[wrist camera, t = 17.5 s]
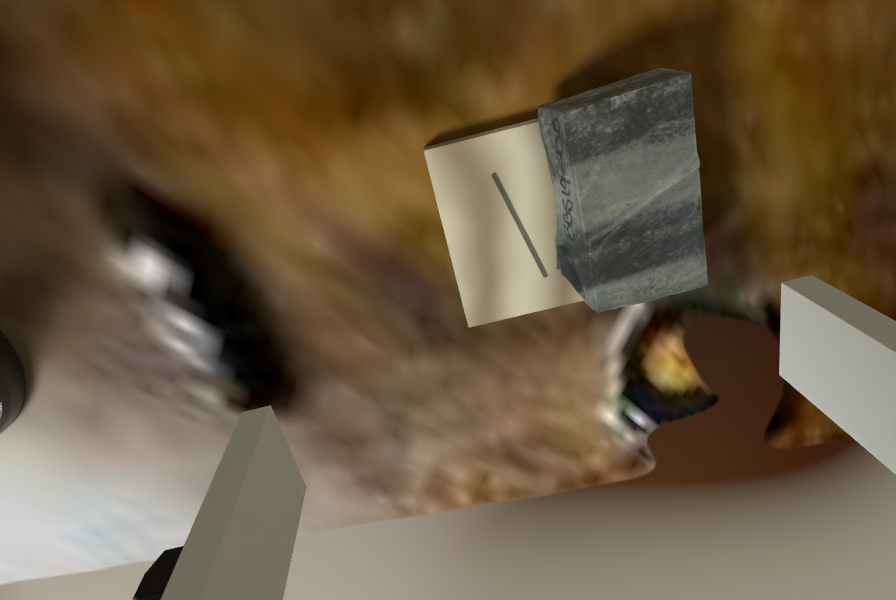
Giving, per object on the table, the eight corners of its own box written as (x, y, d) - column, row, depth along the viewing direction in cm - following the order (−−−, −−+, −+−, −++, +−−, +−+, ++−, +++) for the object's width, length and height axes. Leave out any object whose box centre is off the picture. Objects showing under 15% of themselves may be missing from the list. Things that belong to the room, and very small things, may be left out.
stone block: (564, 293, 44) (581, 324, 39) (525, 104, 38) (539, 113, 33) (680, 263, 43) (711, 290, 38) (657, 65, 37) (692, 68, 32)
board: (467, 319, 46) (468, 327, 44) (423, 147, 40) (423, 150, 39) (675, 269, 45) (683, 276, 43) (661, 86, 39) (670, 88, 38)
